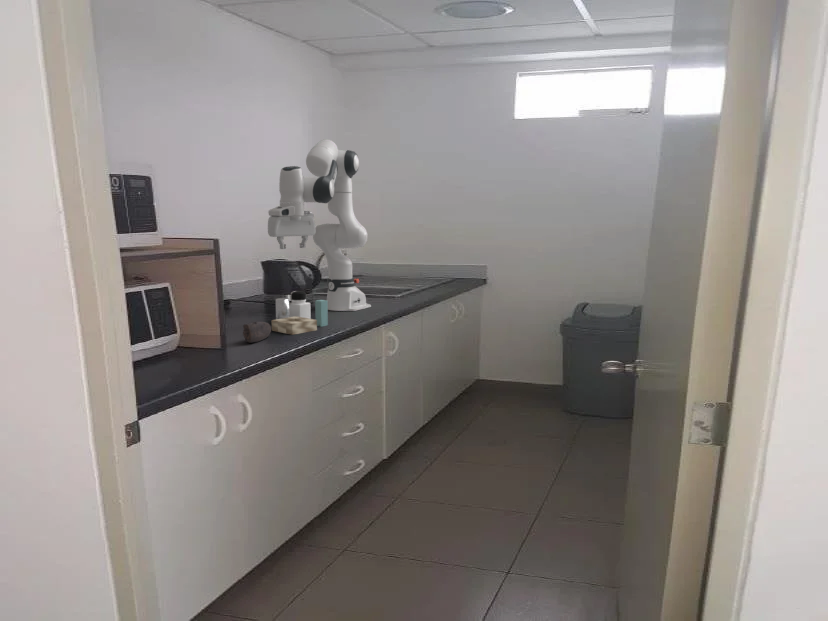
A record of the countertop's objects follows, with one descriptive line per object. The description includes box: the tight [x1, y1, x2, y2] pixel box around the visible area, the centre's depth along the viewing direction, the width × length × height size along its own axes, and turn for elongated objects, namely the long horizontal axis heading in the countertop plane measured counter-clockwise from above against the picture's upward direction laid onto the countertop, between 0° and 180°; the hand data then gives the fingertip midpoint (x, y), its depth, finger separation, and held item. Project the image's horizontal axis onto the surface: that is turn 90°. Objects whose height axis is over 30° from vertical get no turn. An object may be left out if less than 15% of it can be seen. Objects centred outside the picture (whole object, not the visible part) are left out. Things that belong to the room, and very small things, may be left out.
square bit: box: [314, 299, 329, 327], centre depth 251 cm, size 3×3×10 cm
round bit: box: [275, 297, 290, 320], centre depth 253 cm, size 5×5×10 cm
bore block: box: [271, 316, 318, 336], centre depth 240 cm, size 12×12×4 cm
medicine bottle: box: [289, 290, 312, 319], centre depth 262 cm, size 7×7×12 cm
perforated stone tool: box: [242, 321, 272, 344], centre depth 221 cm, size 15×5×7 cm, turn 157°
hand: (292, 248), depth 236 cm, fingers open, 8 cm apart
